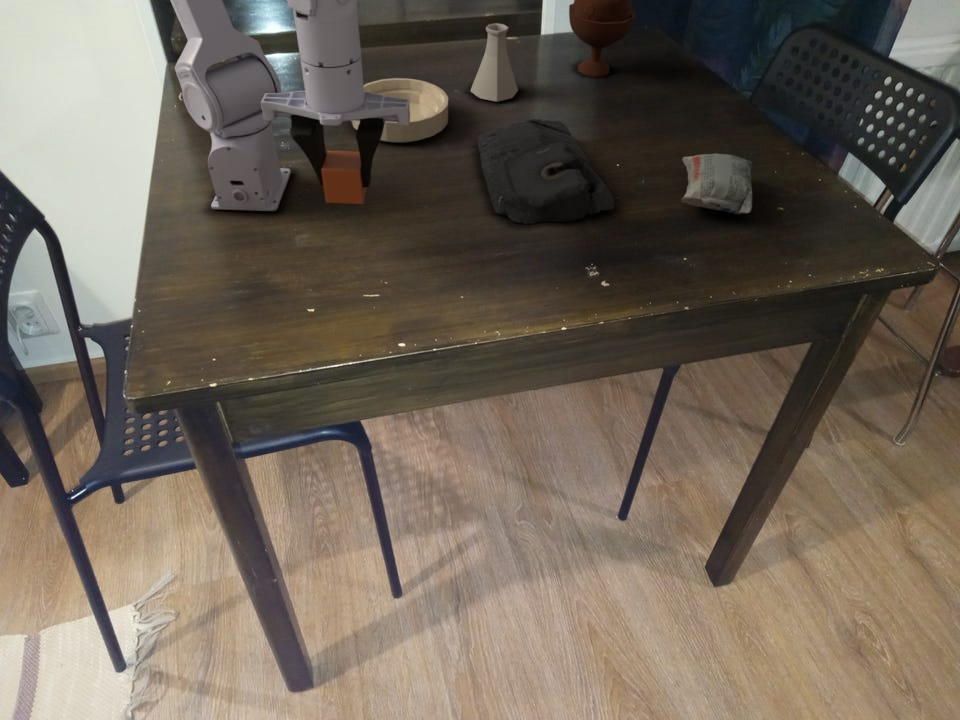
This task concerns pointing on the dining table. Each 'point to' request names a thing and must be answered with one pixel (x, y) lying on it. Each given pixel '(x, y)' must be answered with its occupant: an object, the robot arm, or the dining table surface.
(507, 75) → the flask
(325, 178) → the block
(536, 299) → the dining table surface
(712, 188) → the packaged food
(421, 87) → the bowl
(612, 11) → the ice cream bowl
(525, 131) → the dark slate chunk
